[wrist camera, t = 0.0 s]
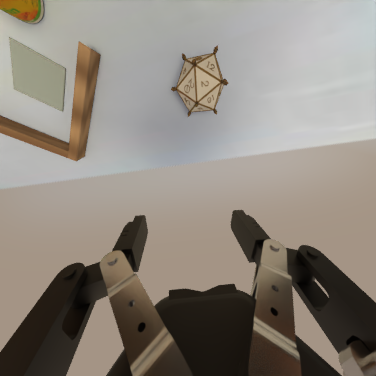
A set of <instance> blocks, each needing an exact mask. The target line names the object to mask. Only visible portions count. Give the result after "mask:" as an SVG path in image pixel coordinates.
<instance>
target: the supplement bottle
mask: <svg viewBox="0 0 376 376" xmlns="http://www.w3.org/2000/svg"><path fill="white" fill-rule="evenodd" d="M0 9H1V10H3V11H5V12H6V13H8V14H10V15H12V16H14V17H16V18H18V19H20V20H22V21H24V22H27V23H37V22H39V21H40V20H41V18H42V16H43V12H44V8H43V1H42V0H0Z"/></svg>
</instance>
